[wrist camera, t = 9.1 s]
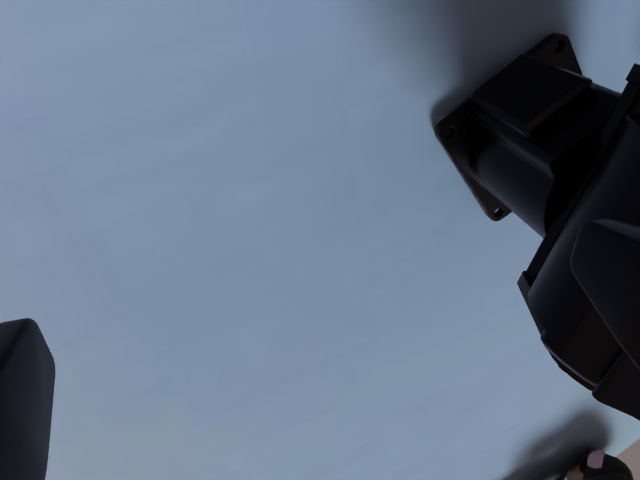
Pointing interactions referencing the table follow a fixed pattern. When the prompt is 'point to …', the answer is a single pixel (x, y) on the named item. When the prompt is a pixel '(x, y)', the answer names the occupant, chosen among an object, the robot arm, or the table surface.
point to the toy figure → (599, 468)
